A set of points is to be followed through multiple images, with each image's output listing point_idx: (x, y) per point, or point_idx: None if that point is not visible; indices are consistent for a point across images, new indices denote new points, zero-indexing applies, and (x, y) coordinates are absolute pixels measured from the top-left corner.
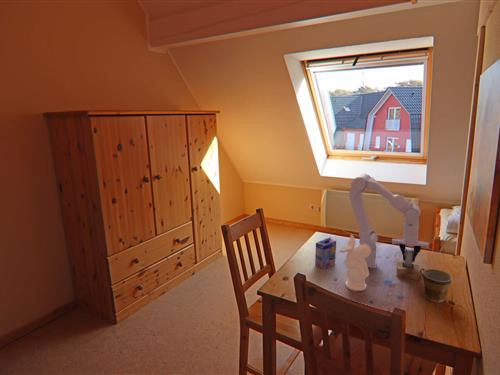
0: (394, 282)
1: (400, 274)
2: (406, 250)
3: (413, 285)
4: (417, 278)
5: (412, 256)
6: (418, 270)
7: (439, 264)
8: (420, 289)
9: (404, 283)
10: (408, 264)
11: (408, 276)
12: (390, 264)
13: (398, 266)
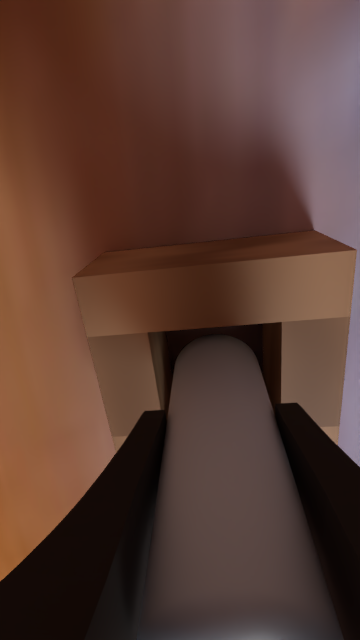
0: (348, 55)
1: (285, 238)
2: (321, 633)
3: (138, 92)
4: (115, 252)
5: (162, 484)
6: (93, 307)
7: (25, 540)
8: (56, 20)
9: (233, 92)
10: (215, 361)
11: (200, 245)
12: (354, 440)
13: (333, 315)
